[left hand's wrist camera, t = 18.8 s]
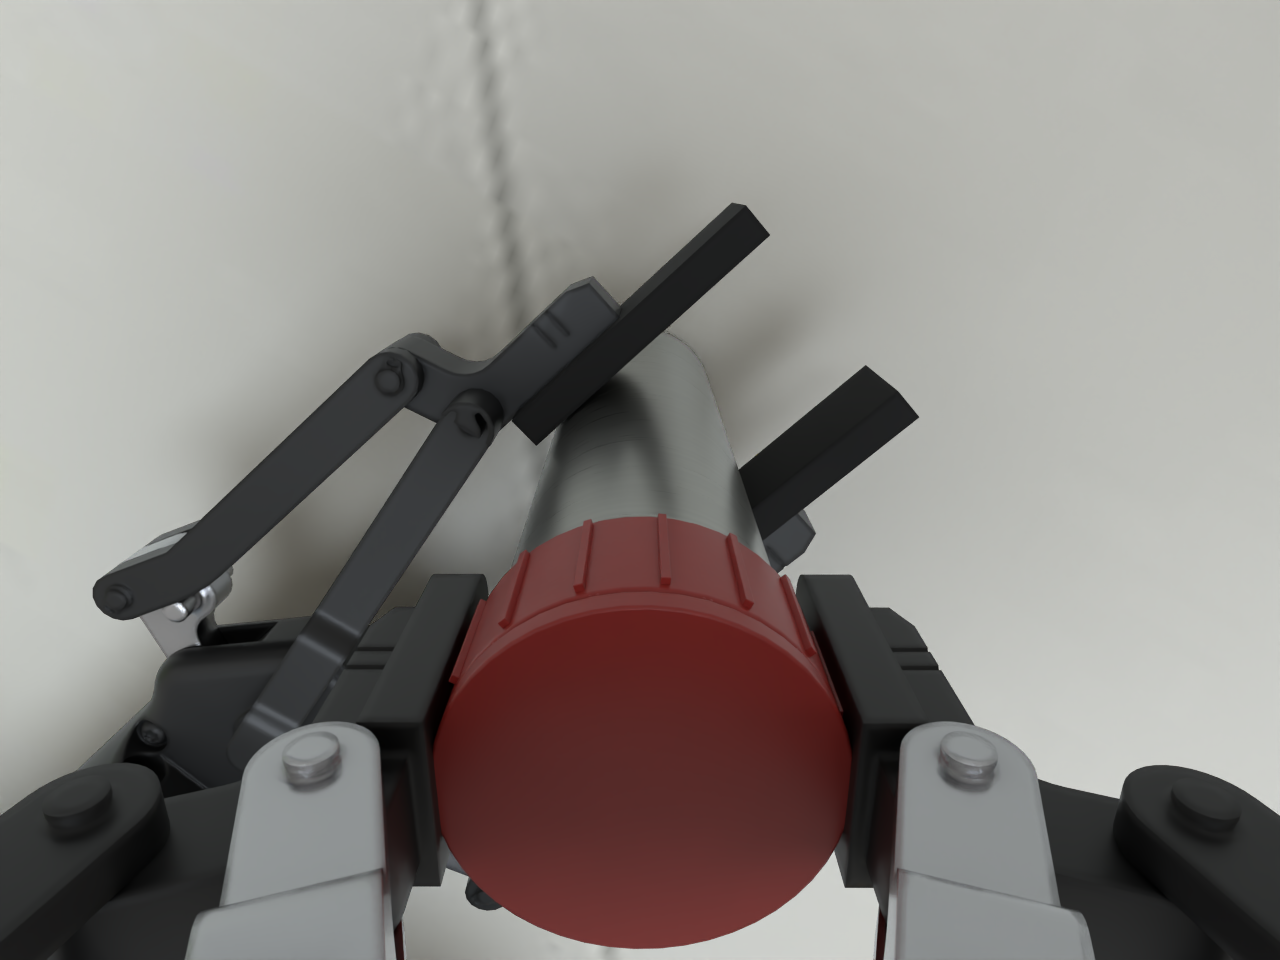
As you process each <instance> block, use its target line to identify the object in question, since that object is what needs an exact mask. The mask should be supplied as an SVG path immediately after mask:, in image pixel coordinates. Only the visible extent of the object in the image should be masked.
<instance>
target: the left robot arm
mask: <svg viewBox="0 0 1280 960" xmlns="http://www.w3.org/2000/svg"><path fill="white" fill-rule="evenodd" d="M796 598H797V600H798V603H799V605H800V607H801V609H802V612H803V614H804V616H805V619H806V621H807V624H808V626H809V629H810V631H813V632H814V635H815V638H816V640H817V643H818V646H819V648H820V651H821V654H822V656H823V659H824V662H825V664H826V667H827V670H828V672H829V675H830V677H831V680H832V683H833V685H834V688H835V691H836V693H837V696H838V699H839V701H840V704H841V707H842V709H843V717H842V718H843V721H844V723H845V726H846V729H847V732H848V736H849V740H850V744H851V748H852V761H851V772H850V781H849V790H848V799H847V808H846V817H845V825H844V831H843V833H842V835H841V838H840V840H839V843H838V844H837V846H836V848H835V849H834V851H835V855H836V858H837V862H838V865H839V869H840V872H841V876H842V879H843V883H844V886H845V888H874V891H875V894H876V897H877V900H878V903H879V910H878V917H877V925H876V932H875V944H874V958H873V960H1280V816H1279V815H1278V814H1277V813H1275V812H1274V811H1272V810H1271V809H1270V808H1268V807H1267V806H1266V805H1264V804H1263V803H1261V802H1260V801H1259V800H1257V799H1256V798H1254V797H1253V796H1251V795H1250V794H1248V793H1247V792H1245V791H1244V790H1242V789H1240V788H1238V787H1236V786H1235V785H1233V784H1231V783H1229V782H1226V781H1224V780H1222V779H1220V778H1217V777H1215V776H1212V775H1209V774H1207V773H1204V772H1200V771H1197V770H1193V769H1189V768H1184V767H1179V766H1169V765H1153V766H1146V767H1142V768H1139V769H1136V770H1135V771H1133V772H1131V773H1130V774H1129V775H1128V776H1127V777H1126V779H1125V781H1124V784H1123V788H1122V792H1121V795H1120V799H1117V798H1112V797H1108V796H1103V795H1098V794H1094V793H1089V792H1085V791H1080V790H1075V789H1071V788H1066V787H1062V786H1058V785H1055V784H1051V783H1048V782H1045V781H1042V780H1040V779H1038V778H1037V774H1036V770H1035V767H1034V766H1033V764H1032V762H1031V761H1030V759H1029V758H1028V757H1027V756H1026V755H1025V753H1024V752H1023V751H1021V750H1020V749H1019V748H1018V747H1017V746H1016V745H1014V744H1013V743H1011V742H1010V741H1009V740H1007V739H1005V738H1003V737H1002V736H1000V735H998V734H996V733H994V732H991V731H989V730H987V729H984V728H981V727H978V726H975V725H974V723H973V722H972V720H971V718H970V717H969V715H968V714H967V712H966V710H965V709H964V707H963V705H962V704H961V702H960V700H959V699H958V697H957V695H956V694H955V692H954V690H953V689H952V687H951V686H950V684H949V682H948V681H947V679H946V677H945V676H944V674H943V672H942V671H941V670H939V669H938V664H937V662H936V661H935V659H934V658H933V656H932V654H931V653H930V652H928V648H927V646H926V644H925V643H924V641H923V639H922V638H921V636H920V634H919V633H918V631H917V629H916V628H915V626H914V625H912V624H911V623H909V622H908V621H907V620H905V619H904V618H902V617H901V616H900V615H898V614H897V613H896V612H894V611H893V610H891V609H890V608H869V606H868V604H867V603H866V601H865V599H864V597H863V595H862V593H861V591H860V589H859V587H858V585H857V584H856V582H855V580H854V578H853V577H852V576H851V575H800V577H799V579H798V583H797V589H796ZM480 599H482V600H485V601H487V599H488V588H487V582H486V578H485V576H484V575H483V574H433V575H432V577H431V578H430V580H429V582H428V584H427V586H426V588H425V590H424V592H423V594H422V595H421V597H420V599H419V601H418V603H417V605H416V607H395V608H394V609H392V610H391V611H389V612H388V613H387V614H385V615H384V616H383V617H381V618H380V619H378V620H377V621H376V622H374V623H373V624H372V625H370V627H369V628H368V630H367V632H366V633H365V635H364V637H363V638H362V640H361V642H360V643H359V645H358V647H357V651H355V652H354V653H353V655H352V657H351V658H350V660H349V662H348V663H347V669H344V670H343V672H342V673H341V675H340V677H339V678H338V680H337V682H336V684H335V685H334V687H333V689H332V690H331V692H330V694H329V695H328V697H327V699H326V700H325V702H324V704H323V705H322V707H321V709H320V710H319V712H318V714H317V715H316V717H315V719H314V720H313V722H312V724H310V725H306V726H302V727H299V728H296V729H293V730H291V731H289V732H286V733H284V734H282V735H280V736H278V737H277V738H275V739H273V740H271V741H270V742H269V743H267V744H266V745H264V746H263V747H262V748H261V749H260V750H259V751H257V752H256V753H255V754H254V756H253V757H252V758H251V759H250V761H249V762H248V764H247V766H246V767H245V770H244V774H243V778H242V780H240V781H238V782H235V783H231V784H227V785H223V786H219V787H214V788H210V789H205V790H201V791H196V792H191V793H187V794H182V795H178V796H173V797H168V798H164V797H163V793H162V789H161V785H160V782H159V779H158V777H157V775H156V774H155V773H154V772H153V771H152V770H150V769H149V768H147V767H145V766H142V765H138V764H132V763H111V764H103V765H98V766H93V767H89V768H85V769H82V770H78V771H76V772H73V773H70V774H67V775H65V776H63V777H60V778H58V779H56V780H54V781H52V782H50V783H48V784H46V785H44V786H43V787H41V788H39V789H37V790H36V791H34V792H33V793H31V794H30V795H28V796H27V797H25V798H24V799H23V800H21V801H20V802H19V803H17V804H16V805H14V806H13V807H12V808H10V809H9V810H8V811H6V812H5V813H3V814H2V815H1V816H0V960H407V959H406V945H405V932H404V925H403V918H402V916H403V913H404V911H405V907H406V904H407V901H408V898H409V895H410V892H411V889H412V886H441V883H442V879H443V876H444V872H445V869H446V865H447V861H448V858H449V854H450V850H449V848H448V846H447V844H446V841H445V839H444V837H443V835H442V832H441V825H440V815H439V806H438V797H437V788H436V778H435V769H434V759H433V744H434V739H435V736H436V733H437V731H438V728H439V725H440V722H441V719H442V717H443V714H444V711H445V708H446V706H447V703H448V700H449V698H450V695H451V692H452V689H453V687H454V684H453V683H451V682H449V679H450V676H451V674H452V671H453V668H454V666H455V663H456V660H457V658H458V655H459V652H460V650H461V647H462V644H463V642H464V639H465V637H466V634H467V631H468V629H469V626H470V623H471V621H472V618H473V615H474V613H475V610H476V607H477V605H478V603H479V601H480Z"/></svg>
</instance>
